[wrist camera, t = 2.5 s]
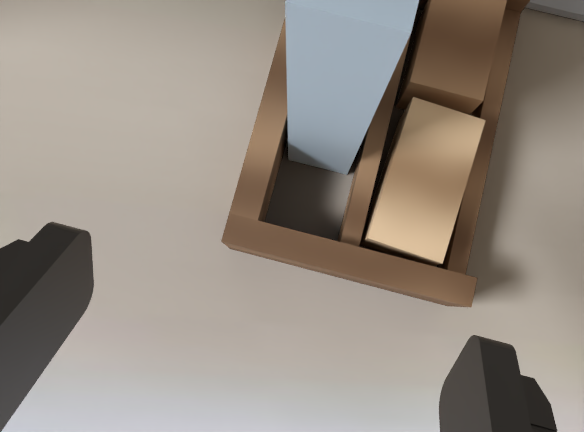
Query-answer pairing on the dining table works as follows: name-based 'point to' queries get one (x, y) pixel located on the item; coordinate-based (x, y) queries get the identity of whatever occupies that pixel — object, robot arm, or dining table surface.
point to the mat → (560, 7)
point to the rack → (364, 191)
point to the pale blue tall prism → (339, 73)
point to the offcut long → (422, 183)
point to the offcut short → (452, 53)
